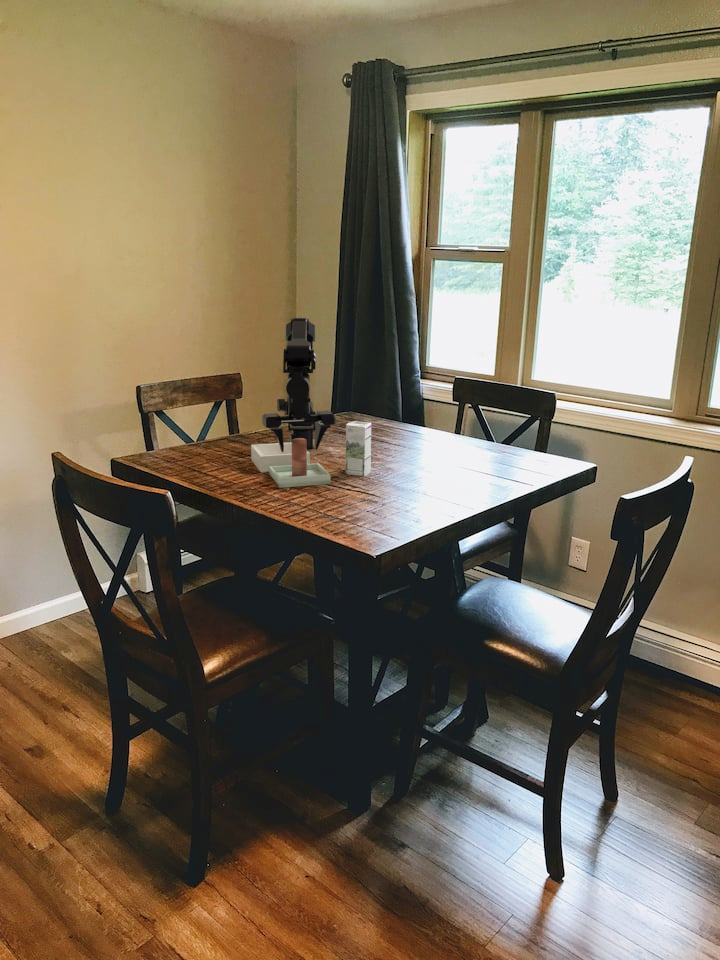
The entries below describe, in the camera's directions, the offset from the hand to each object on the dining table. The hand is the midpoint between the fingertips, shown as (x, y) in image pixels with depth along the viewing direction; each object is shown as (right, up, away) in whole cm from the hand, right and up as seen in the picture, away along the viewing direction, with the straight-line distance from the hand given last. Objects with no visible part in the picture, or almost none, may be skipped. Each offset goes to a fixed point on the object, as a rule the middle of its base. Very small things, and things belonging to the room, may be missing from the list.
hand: (299, 450), depth 203 cm
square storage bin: (-7, -4, +15) cm, 17 cm away
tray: (0, -8, +2) cm, 8 cm away
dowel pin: (0, -7, +2) cm, 7 cm away
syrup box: (+16, -6, +8) cm, 19 cm away
